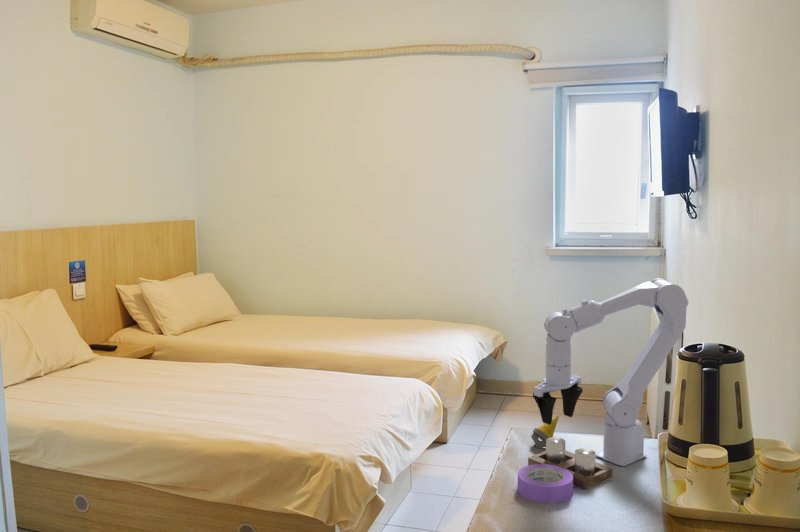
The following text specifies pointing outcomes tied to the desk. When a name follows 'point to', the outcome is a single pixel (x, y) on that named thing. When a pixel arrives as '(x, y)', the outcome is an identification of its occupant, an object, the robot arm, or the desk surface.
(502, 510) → the desk surface
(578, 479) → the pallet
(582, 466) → the billet
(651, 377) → the robot arm
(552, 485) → the masking tape
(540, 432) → the drill bit
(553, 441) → the billet
